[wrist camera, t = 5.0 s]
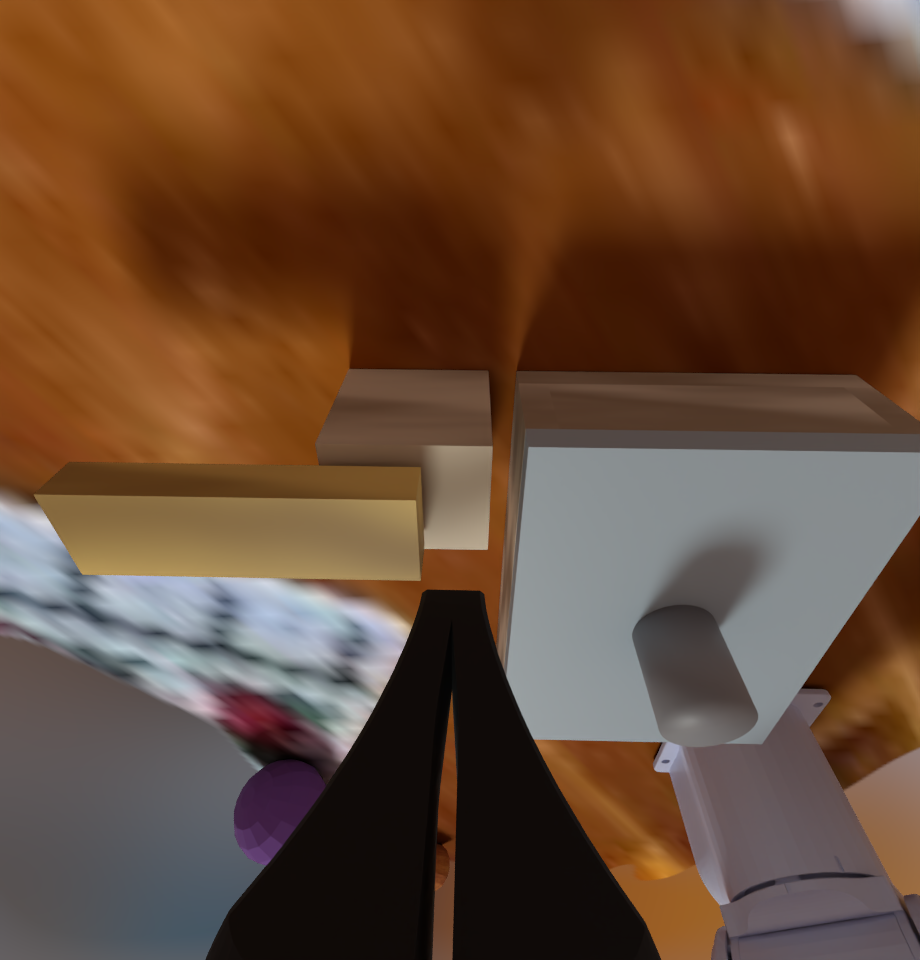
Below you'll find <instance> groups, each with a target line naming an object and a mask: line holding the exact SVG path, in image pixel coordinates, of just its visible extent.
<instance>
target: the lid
mask: <svg viewBox="0 0 920 960" xmlns="http://www.w3.org/2000/svg"><path fill="white" fill-rule="evenodd" d="M919 516H920V434H875V433H802V432H729V431H656V430H583V429H526V431H525V442H524V453H523V464H522V475H521V486H520V497H519V508H518V519H517V530H516V541H515V552H514V563H513V575H512V586H511V597H510V608H509V619H508V630H507V641H506V652H505V663H504V671H505V674H506V677H507V680H508V682H509V685H510V687H511V690H512V692H513V695H514V697H515V699H516V702H517V704H518V706H519V709H520V711H521V713H522V716H523V718H524V720H525V722H526V724H527V727H528V729H529V731H530V733H531V735H532V737H533V739H546V740H591V741H636V742H671V743H674V744H677V745H681V746H687V747H708V746H715V745H720V744H724V743H725V744H763V742H764V741H765V739H766V738H767V737H768V735H769V734H770V732H771V731H772V729H773V728H774V726H775V725H776V723H777V722H778V721H779V719H780V718H781V716H782V715H783V713H784V712H785V710H786V709H787V707H788V706H789V705H790V703H791V702H792V700H793V699H794V697H795V696H796V694H797V693H798V692H799V690H800V689H801V687H802V686H803V684H804V683H805V681H806V680H807V678H808V677H809V676H810V674H811V673H812V671H813V670H814V668H815V667H816V665H817V664H818V662H819V661H820V660H821V658H822V657H823V655H824V654H825V652H826V651H827V649H828V648H829V647H830V645H831V644H832V642H833V641H834V639H835V638H836V636H837V635H838V633H839V632H840V631H841V629H842V628H843V626H844V625H845V623H846V622H847V620H848V619H849V617H850V616H851V615H852V613H853V612H854V610H855V609H856V607H857V606H858V604H859V603H860V602H861V600H862V599H863V597H864V596H865V594H866V593H867V591H868V590H869V588H870V587H871V586H872V584H873V583H874V581H875V580H876V578H877V577H878V575H879V574H880V572H881V571H882V570H883V568H884V567H885V565H886V564H887V562H888V561H889V559H890V558H891V557H892V555H893V554H894V552H895V551H896V549H897V548H898V546H899V545H900V543H901V542H902V541H903V539H904V538H905V536H906V535H907V533H908V532H909V530H910V529H911V527H912V526H913V525H914V523H915V522H916V520H917V519H918V517H919Z"/></svg>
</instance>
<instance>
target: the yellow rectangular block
mask: <svg viewBox="0 0 920 960" xmlns="http://www.w3.org/2000/svg"><path fill="white" fill-rule="evenodd" d="M33 495H34V496H35V498H36V500H37V501H38V503H39V505H40V506H41V508H42V509H43V511H44V513H45V514H46V516H47V518H48V519H49V521H50V522H51V524H52V526H53V527H54V529H55V531H56V532H57V534H58V536H59V537H60V539H61V540H62V542H63V544H64V545H65V547H66V549H67V550H68V552H69V554H70V555H71V557H72V558H73V560H74V562H75V563H76V565H77V567H78V568H79V570H80V572H81V573H82V575H135V576H191V577H247V578H302V579H358V580H414V581H421V573H422V563H423V554H424V525H423V505H422V486H421V467H378V466H310V465H242V464H174V463H106V462H69V463H67V464H66V465H65V466H64V467H63V468H62V469H61V470H60V471H59V472H58V473H56V474H55V475H54V476H53V477H52V478H51V479H50V480H49V481H48V482H47V483H45V484H44V485H43V486H42V487H41V488H40V489H39V490H38V491H37V492H36V493H34V494H33Z"/></svg>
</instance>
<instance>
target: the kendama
mask: <svg viewBox="0 0 920 960" xmlns="http://www.w3.org/2000/svg"><path fill="white" fill-rule="evenodd" d="M325 787H326V784H325V783H324V781H323V779H322V778H321V776H320V775H319V773H318V772H317V770H316V769H315V768H314V767H313V766H311V765H308V764H306V763H304V762H302V761H298V760H293V759H288V760H280V761H276V762H273V763H271V764H268V765H266V766H265V767H264V768H262V769H261V770H260V771H259V772H257V773H256V774H255V775H254V776H253V777H251V778H250V779H249V780H248V782H247V783H246V785H245V786H244V787H243V789H242V791H241V793H240V795H239V797H238V799H237V802H236V806H235V810H234V830H235V837H236V840H237V842H238V845H239V847H240V848H241V849H242V850H243V852H244V853H245V854H246V856H247V857H248V858H249V859H251V860H253V861H255V862H257V863H260V864H263V865H267V864H268V863H269V862H270V861H271V859H272V858H273V857H274V856H275V854H276V853H277V852H278V851H279V849H280V848H281V847H282V846H283V844H284V843H285V842H286V840H287V839H288V838H289V836H290V835H291V834H292V832H293V831H294V830H295V828H296V827H297V826H298V824H299V823H300V822H301V820H302V819H303V818H304V816H305V815H306V814H307V812H308V811H309V810H310V808H311V807H312V806H313V804H314V803H315V801H316V800H317V799H318V797H319V796H320V794H321V793H322V792H323V790H324V789H325ZM448 872H449V856H448V853H447V850H446V849H445V848H444V847H443V845H440V844H437V848H436V872H435V891H436V890H438V889H439V888H440V887H441V886H442V885H443V883H444V882H445V880H446V878H447V876H448Z"/></svg>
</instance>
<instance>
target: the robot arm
mask: <svg viewBox="0 0 920 960" xmlns="http://www.w3.org/2000/svg"><path fill="white" fill-rule="evenodd" d="M451 693H452V696H453V715H454V733H455V750H456V768H457V814H456V851H455V888H454V924H453V926H454V927H453V960H661V958H660V956H659V953H658V951H657V948H656V946H655V944H654V941H653V939H652V937H651V934H650V932H649V930H648V928H647V925H646V923H645V921H644V920H643V918H642V917H641V916H640V914H639V912H638V911H637V910H636V908H635V907H634V905H633V904H632V902H631V901H630V900H629V898H628V897H627V895H626V894H625V893H624V891H623V890H622V888H621V887H620V885H619V884H618V882H617V881H616V879H615V878H614V876H613V875H612V873H611V872H610V870H609V869H608V867H607V866H606V864H605V863H604V861H603V860H602V858H601V856H600V855H599V853H598V852H597V850H596V849H595V847H594V846H593V844H592V842H591V841H590V839H589V838H588V836H587V835H586V833H585V831H584V829H583V828H582V826H581V824H580V823H579V821H578V819H577V818H576V816H575V814H574V813H573V811H572V809H571V808H570V806H569V804H568V802H567V801H566V799H565V797H564V796H563V794H562V792H561V791H560V789H559V787H558V785H557V784H556V782H555V780H554V778H553V776H552V774H551V772H550V770H549V769H548V767H547V765H546V763H545V761H544V759H543V757H542V755H541V753H540V751H539V749H538V747H537V745H536V743H535V741H534V739H533V737H532V735H531V733H530V731H529V729H528V727H527V724H526V722H525V720H524V718H523V716H522V713H521V711H520V709H519V706H518V704H517V702H516V699H515V697H514V695H513V692H512V690H511V687H510V685H509V682H508V680H507V677H506V674H505V671H504V668H503V666H502V663H501V660H500V657H499V655H498V652H497V648H496V645H495V642H494V639H493V635H492V632H491V628H490V624H489V620H488V616H487V611H486V605H485V597H484V594H483V593H482V592H481V591H467V590H426V591H424V592H423V593H422V597H421V601H420V605H419V608H418V612H417V615H416V618H415V621H414V624H413V626H412V629H411V632H410V634H409V637H408V639H407V642H406V644H405V646H404V649H403V651H402V653H401V655H400V658H399V660H398V662H397V664H396V667H395V669H394V671H393V673H392V675H391V677H390V679H389V681H388V683H387V685H386V687H385V689H384V691H383V693H382V695H381V697H380V699H379V700H378V702H377V704H376V706H375V708H374V710H373V712H372V714H371V715H370V717H369V719H368V721H367V722H366V724H365V726H364V728H363V729H362V731H361V733H360V734H359V736H358V738H357V739H356V741H355V743H354V744H353V746H352V748H351V749H350V751H349V752H348V754H347V756H346V757H345V759H344V760H343V762H342V763H341V765H340V766H339V768H338V769H337V771H336V772H335V774H334V775H333V777H332V778H331V780H330V781H329V783H328V784H327V786H326V787H325V789H324V790H323V792H322V793H321V794H320V796H319V797H318V799H317V800H316V801H315V803H314V804H313V806H312V807H311V808H310V810H309V811H308V812H307V814H306V815H305V816H304V818H303V819H302V820H301V822H300V823H299V824H298V826H297V827H296V828H295V830H294V831H293V832H292V834H291V835H290V836H289V838H288V839H287V840H286V842H285V843H284V844H283V846H282V847H281V848H280V849H279V851H278V852H277V853H276V854H275V856H274V857H273V858H272V859H271V861H270V862H269V863H268V864H267V865H266V867H265V868H264V869H263V870H262V872H261V873H260V874H259V875H258V876H257V878H256V879H255V880H254V881H253V882H252V884H251V885H250V886H249V887H248V888H247V890H246V891H245V892H244V893H243V894H242V896H241V897H240V898H239V899H238V900H237V902H236V903H235V904H234V905H233V906H232V908H231V909H230V910H229V912H228V914H227V916H226V918H225V919H224V921H223V923H222V925H221V927H220V929H219V931H218V933H217V935H216V937H215V939H214V941H213V944H212V946H211V948H210V950H209V952H208V955H207V957H206V960H432V948H433V922H434V897H435V872H436V848H437V825H438V805H439V793H440V783H441V775H442V767H443V759H444V751H445V742H446V734H447V726H448V718H449V710H450V701H451ZM830 699H831V696H830V694H829V693H828V691H827V690H824V689H800V690H799V692H798V693H797V694H796V696H795V697H794V699H793V700H792V702H791V703H790V705H789V706H788V707H787V709H786V710H785V712H784V713H783V715H782V716H781V718H780V719H779V721H778V722H777V723H776V725H775V726H774V728H773V729H772V731H771V732H770V734H769V735H768V737H767V738H766V739H765V741H764V742H763V744H725V743H724V744H720V745H715V746H708V747H687V746H681V745H677V744H674V743H671V742H663V743H662V745H661V747H660V749H659V752H658V754H657V756H656V758H655V760H654V762H653V766H654V769H655V771H657V772H669V773H670V776H671V780H672V783H673V786H674V790H675V793H676V797H677V800H678V804H679V807H680V811H681V814H682V818H683V821H684V825H685V828H686V832H687V835H688V838H689V842H690V845H691V849H692V852H693V856H694V859H695V863H696V866H697V869H698V871H699V874H700V876H701V879H702V881H703V882H704V884H705V886H706V887H707V889H708V891H709V892H710V893H711V895H712V896H713V897H714V899H715V900H716V901H717V902H718V903H719V905H720V909H721V913H722V917H723V920H724V923H725V926H722V927H721V928H719V929H718V930H717V932H716V935H715V940H714V945H713V949H712V955H711V960H920V896H919V895H917V894H911V895H905V896H903V895H902V894H901V893H900V892H899V891H898V890H897V889H896V888H895V886H894V885H893V884H892V882H891V880H890V878H889V876H888V874H887V873H886V871H885V869H884V867H883V865H882V863H881V861H880V859H879V858H878V856H877V854H876V852H875V850H874V848H873V846H872V844H871V842H870V841H869V839H868V837H867V835H866V833H865V831H864V829H863V827H862V825H861V824H860V822H859V820H858V818H857V816H856V814H855V812H854V810H853V808H852V807H851V805H850V803H849V801H848V799H847V797H846V795H845V793H844V791H843V790H842V788H841V786H840V784H839V782H838V780H837V778H836V776H835V775H834V773H833V771H832V769H831V767H830V765H829V763H828V761H827V759H826V758H825V756H824V754H823V752H822V750H821V748H820V746H819V744H818V742H817V741H816V739H815V737H814V735H813V733H812V731H811V729H810V726H811V724H812V723H813V722H814V721H815V719H816V718H817V717H818V715H819V714H820V713H821V711H822V710H823V709H824V707H825V706H826V705H827V704H828V702H829V701H830Z"/></svg>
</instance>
